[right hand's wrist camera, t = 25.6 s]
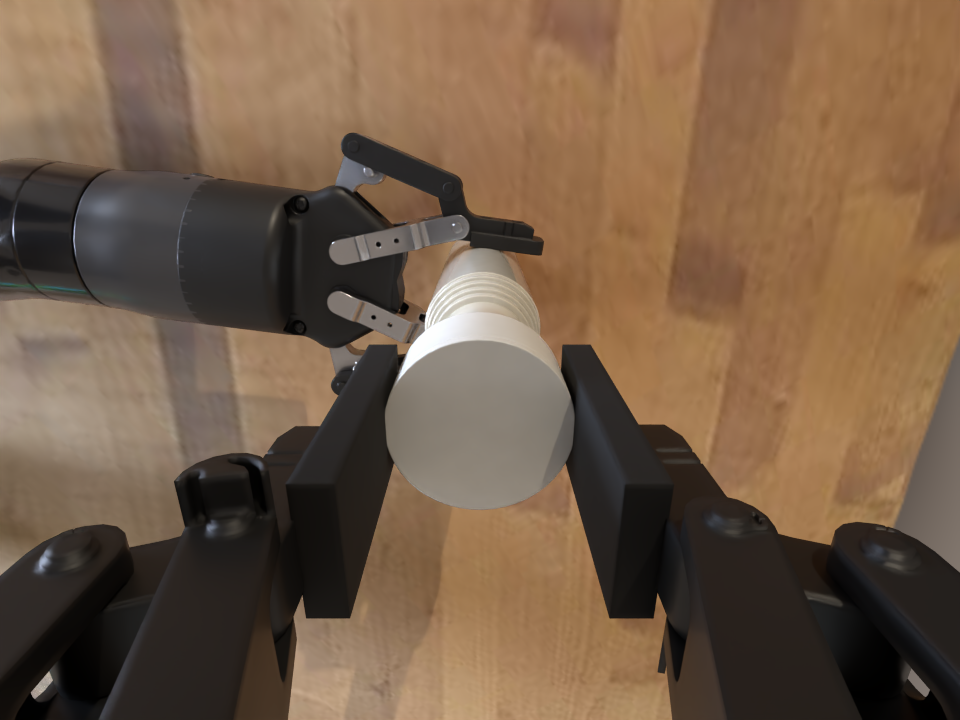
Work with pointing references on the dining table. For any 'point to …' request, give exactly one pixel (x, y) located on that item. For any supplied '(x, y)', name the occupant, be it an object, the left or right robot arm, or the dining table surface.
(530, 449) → the cap
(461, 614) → the dining table surface
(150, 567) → the right robot arm
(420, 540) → the dining table surface
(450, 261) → the bottle
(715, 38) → the dining table surface
